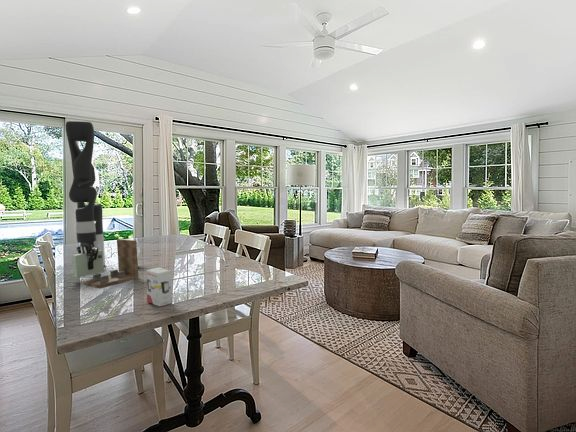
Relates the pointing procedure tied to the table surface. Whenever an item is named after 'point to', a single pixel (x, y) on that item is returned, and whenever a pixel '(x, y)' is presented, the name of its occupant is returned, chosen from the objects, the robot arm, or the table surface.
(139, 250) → the lightbulb
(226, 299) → the table surface
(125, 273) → the wooden l-shaped stand
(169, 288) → the ink box
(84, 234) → the robot arm
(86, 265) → the door
